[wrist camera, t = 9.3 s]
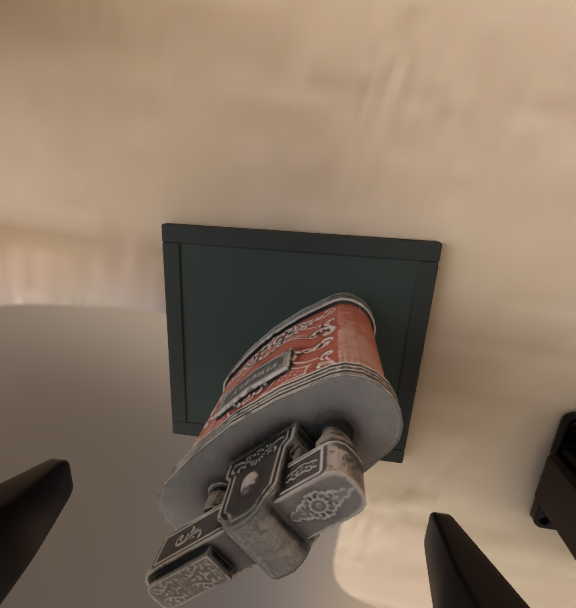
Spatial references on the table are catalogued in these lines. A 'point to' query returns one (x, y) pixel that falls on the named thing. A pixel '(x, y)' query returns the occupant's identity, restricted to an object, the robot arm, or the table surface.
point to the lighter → (278, 453)
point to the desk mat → (285, 303)
